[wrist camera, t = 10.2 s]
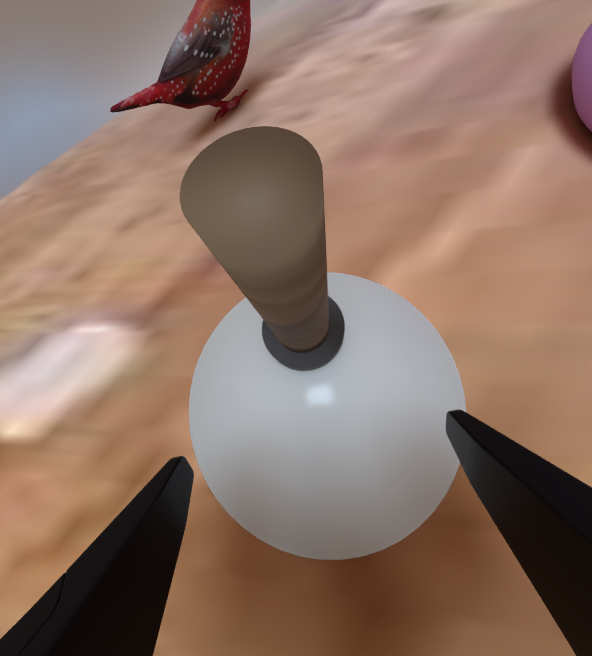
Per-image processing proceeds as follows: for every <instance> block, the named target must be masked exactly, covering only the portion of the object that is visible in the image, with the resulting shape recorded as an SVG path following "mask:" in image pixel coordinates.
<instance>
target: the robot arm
mask: <svg viewBox="0 0 592 656" xmlns="http://www.w3.org/2000/svg"><path fill="white" fill-rule="evenodd" d="M446 434H447V436H448V438H449V440H450V442H451V445H452V447H453V449H454V451H455V453H456V455H457V457H458V459H459V461H460V463H461V465H462V467H463V469H464V471H465V473H466V475H467V477H468V479H469V481H470V483H471V485H472V487H473V488H474V490H475V492H476V493H477V495H478V497H479V498H480V500H481V501H482V503H483V505H484V506H485V508H486V510H487V511H488V513H489V514H490V516H491V518H492V519H493V521H494V523H495V524H496V526H497V527H498V529H499V531H500V532H501V534H502V536H503V537H504V539H505V540H506V542H507V544H508V545H509V547H510V549H511V550H512V552H513V553H514V555H515V557H516V558H517V560H518V562H519V563H520V565H521V566H522V568H523V570H524V571H525V573H526V575H527V576H528V578H529V579H530V581H531V583H532V584H533V586H534V588H535V589H536V591H537V592H538V594H539V596H540V597H541V599H542V601H543V602H544V604H545V605H546V607H547V609H548V610H549V612H550V614H551V615H552V617H553V618H554V620H555V622H556V623H557V625H558V627H559V628H560V630H561V631H562V633H563V635H564V636H565V638H566V640H567V641H568V643H569V644H570V646H571V648H572V649H573V651H574V653H575V654H576V656H592V487H590V486H588V485H587V484H585V483H583V482H582V481H580V480H578V479H577V478H575V477H573V476H572V475H570V474H568V473H567V472H565V471H563V470H562V469H560V468H558V467H557V466H555V465H553V464H552V463H550V462H548V461H547V460H545V459H543V458H542V457H540V456H538V455H537V454H535V453H533V452H532V451H530V450H528V449H527V448H525V447H523V446H522V445H520V444H518V443H516V442H515V441H513V440H511V439H510V438H508V437H506V436H505V435H503V434H501V433H500V432H498V431H496V430H495V429H493V428H491V427H490V426H488V425H486V424H485V423H483V422H481V421H480V420H478V419H476V418H475V417H473V416H471V415H470V414H468V413H466V412H465V411H463V410H460V409H457V410H452V411H448V412H447V414H446ZM193 478H194V473H193V470H192V468H191V466H190V464H189V463H188V461H187V460H186V458H185V457H184V456H179V457H174V458H171V459H170V460H169V461H168V462H167V463H166V464H165V465H164V466H163V467H162V469H161V470H160V471H159V472H158V473H157V474H156V475H155V476H154V477H153V478H152V479H151V480H150V481H149V483H148V484H147V485H146V486H145V487H144V488H143V489H142V490H141V491H140V492H139V493H138V494H137V495H136V496H135V498H134V499H133V500H132V501H131V502H130V503H129V504H128V505H127V506H126V507H125V508H124V509H123V510H122V512H121V513H120V514H119V515H118V516H117V517H116V518H115V519H114V520H113V521H112V522H111V523H110V524H109V525H108V527H107V528H106V529H105V530H104V531H103V532H102V533H101V534H100V535H99V536H98V537H97V538H96V539H95V541H94V542H93V543H92V544H91V545H90V546H89V547H88V548H87V549H86V550H85V551H84V552H83V553H82V554H81V556H80V557H79V558H78V559H77V560H76V561H75V562H74V563H73V564H72V565H71V566H70V567H69V568H68V570H67V571H66V573H64V574H63V575H62V576H61V577H60V578H59V579H58V580H57V581H56V582H55V583H54V584H53V586H52V587H51V588H50V589H49V590H48V591H47V592H46V593H45V594H44V595H43V596H42V597H41V598H40V599H39V600H38V601H37V602H36V603H35V604H34V606H33V607H32V608H31V609H30V610H29V611H28V612H27V613H26V614H25V615H24V616H23V617H22V618H21V619H20V620H19V621H18V622H17V623H16V624H15V625H14V626H13V627H12V628H11V629H10V630H9V631H8V632H7V633H6V634H5V635H4V636H3V637H2V638H1V639H0V656H153V653H154V649H155V645H156V641H157V637H158V633H159V629H160V625H161V621H162V617H163V613H164V609H165V606H166V602H167V598H168V594H169V590H170V586H171V582H172V578H173V574H174V570H175V566H176V562H177V558H178V555H179V551H180V547H181V543H182V539H183V535H184V531H185V526H186V521H187V516H188V509H189V503H190V497H191V491H192V485H193Z"/></svg>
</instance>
